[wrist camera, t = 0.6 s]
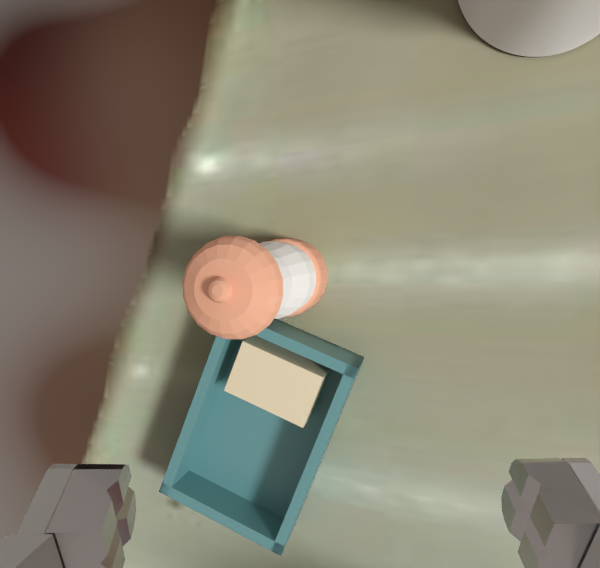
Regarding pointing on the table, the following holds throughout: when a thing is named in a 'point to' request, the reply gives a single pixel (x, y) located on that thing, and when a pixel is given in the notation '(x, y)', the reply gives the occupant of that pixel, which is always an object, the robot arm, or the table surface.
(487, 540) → the table surface
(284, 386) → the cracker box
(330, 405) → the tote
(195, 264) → the salt shaker
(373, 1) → the table surface
